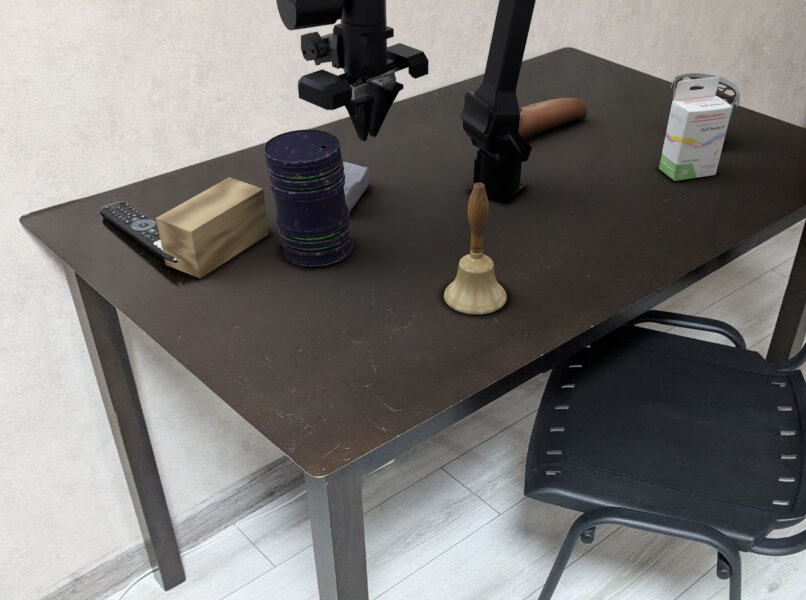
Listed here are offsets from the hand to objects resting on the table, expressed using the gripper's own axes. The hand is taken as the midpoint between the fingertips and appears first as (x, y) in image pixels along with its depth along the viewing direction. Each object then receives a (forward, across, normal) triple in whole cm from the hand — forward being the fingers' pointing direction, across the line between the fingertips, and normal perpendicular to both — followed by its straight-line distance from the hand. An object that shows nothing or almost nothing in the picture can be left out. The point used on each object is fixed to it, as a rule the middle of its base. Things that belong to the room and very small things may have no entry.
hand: (367, 138), depth 124 cm
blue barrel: (+13, +10, 0) cm, 17 cm away
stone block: (+13, -1, -10) cm, 17 cm away
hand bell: (+13, +4, +23) cm, 27 cm away
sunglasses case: (+13, -45, -4) cm, 47 cm away
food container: (+13, -63, +20) cm, 67 cm away
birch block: (+13, +20, -10) cm, 26 cm away
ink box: (+13, -49, +25) cm, 57 cm away
